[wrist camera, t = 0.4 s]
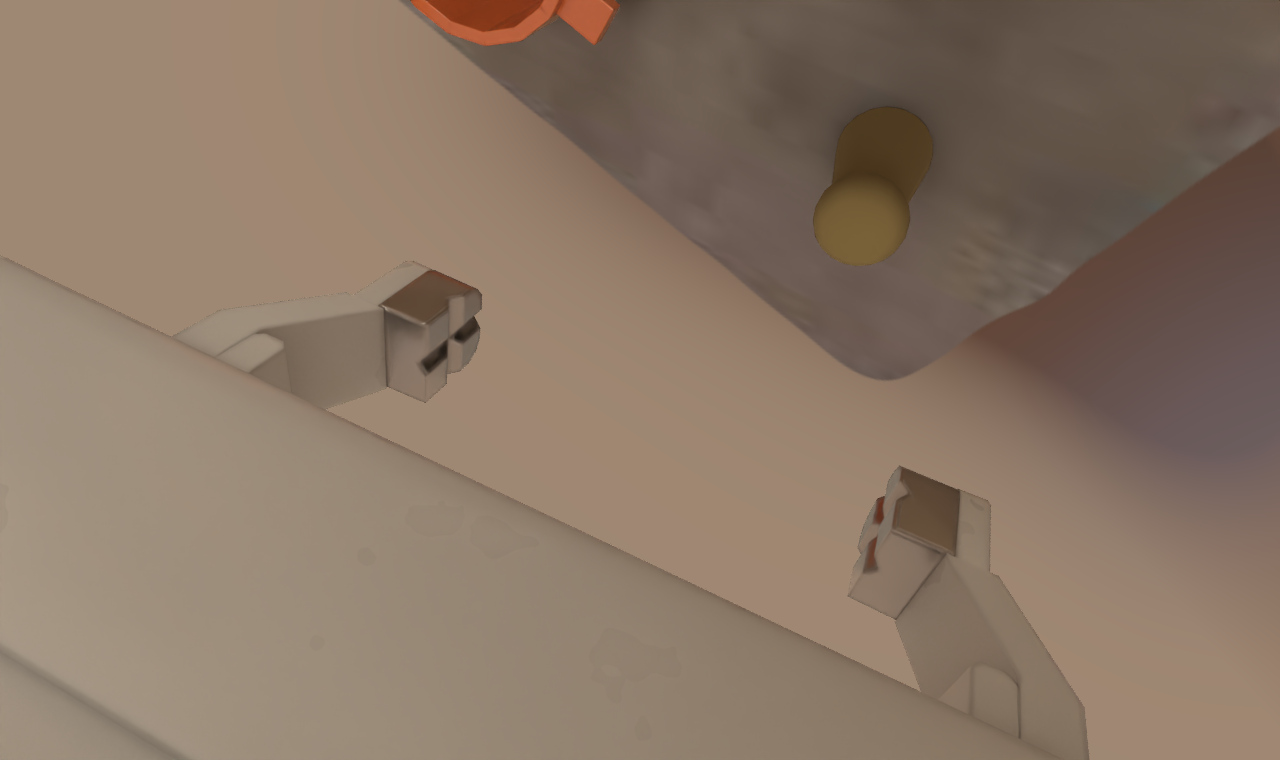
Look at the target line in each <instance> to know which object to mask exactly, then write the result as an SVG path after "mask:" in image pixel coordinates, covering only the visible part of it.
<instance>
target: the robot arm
mask: <svg viewBox="0 0 1280 760" xmlns="http://www.w3.org/2000/svg"><path fill="white" fill-rule="evenodd" d="M481 309H482V294H481V293H480V292H479V290H478V289H476V288H474V287H471V286H469V285H467V284H465V283H462V282H460V281H458V280H456V279H453V278H451V277H449V276H447V275H444V274H442V273H440V272H437V271H435V270H432V269H430V268H428V267H426V266H423V265H421V264H419V263H416V262H414V261H405V262H404V263H402V264H401V265H399V266H397V267H396V268H394V269H393V270H391V271H390V272H388V273H387V274H385V275H384V276H382V277H381V278H379V279H377V280H376V281H374V282H373V283H371V284H370V285H368V286H367V287H365V288H364V289H362V290H360V291H359V292H357V293H356V294H354V295H351V294H349V293H347V292H345V293H338V294H331V295H324V296H317V297H309V298H303V299H295V300H288V301H280V302H274V303H266V304H259V305H252V306H245V307H238V308H230V309H223V310H218V311H217V312H215V313H213V314H211V315H209V316H208V317H206V318H204V319H202V320H201V321H199V322H197V323H195V324H193V325H192V326H190V327H188V328H186V329H184V330H183V331H181V332H179V333H177V334H176V335H174V336H172V337H171V336H168V335H166V334H164V333H162V332H160V331H158V330H156V329H154V328H152V327H150V326H148V325H145V324H143V323H141V322H139V321H137V320H135V319H133V318H131V317H129V316H126V315H124V314H122V313H120V312H118V311H116V310H114V309H112V308H110V307H108V306H105V305H103V304H101V303H99V302H97V301H95V300H93V299H90V298H89V297H86V296H84V295H82V294H80V293H78V292H76V291H74V290H72V289H70V288H68V287H65V286H63V285H61V284H59V283H57V282H55V281H53V280H50V279H48V278H46V277H44V276H42V275H40V274H38V273H36V272H34V271H32V270H30V269H28V268H26V267H24V266H22V265H20V264H18V263H16V262H14V261H12V260H10V259H7V258H5V257H3V256H0V760H1089V751H1088V741H1087V730H1086V719H1085V710H1084V706H1083V704H1082V703H1081V702H1080V700H1079V698H1078V697H1077V695H1076V694H1075V692H1074V691H1073V689H1072V688H1071V686H1070V685H1069V683H1068V682H1067V680H1066V679H1065V677H1064V675H1063V674H1062V673H1061V671H1060V669H1059V668H1058V666H1057V665H1056V663H1055V662H1054V660H1053V659H1052V657H1051V655H1050V654H1049V653H1048V651H1047V649H1046V648H1045V646H1044V645H1043V643H1042V642H1041V640H1040V639H1039V637H1038V636H1037V634H1036V633H1035V631H1034V629H1033V628H1032V627H1031V625H1030V623H1029V622H1028V620H1027V619H1026V617H1025V616H1024V615H1023V613H1022V611H1021V610H1020V608H1019V607H1018V605H1017V603H1016V602H1015V600H1014V599H1013V597H1012V596H1011V594H1010V593H1009V591H1008V590H1007V588H1006V587H1005V585H1004V584H1003V582H1002V581H1001V579H1000V577H999V576H997V575H995V574H993V573H990V520H991V517H990V516H991V514H990V513H991V509H990V507H991V505H990V503H989V502H988V500H985V499H983V498H980V497H978V496H975V495H972V494H970V493H967V492H965V491H962V490H960V489H954V488H952V487H950V486H947V485H945V484H943V483H940V482H938V481H935V480H933V479H930V478H928V477H926V476H923V475H921V474H918V473H916V472H913V471H911V470H909V469H906V468H904V467H901V466H899V467H898V468H897V469H896V470H895V471H894V473H893V474H892V476H891V477H890V479H889V481H888V484H887V489H886V494H885V496H883V497H881V498H878V499H877V500H876V502H875V504H874V505H873V507H872V509H871V511H870V513H869V515H868V517H867V519H866V522H865V524H864V526H863V529H862V533H861V536H860V540H859V544H858V549H859V551H860V553H861V556H860V557H859V559H858V560H857V562H856V564H855V565H854V567H853V572H852V577H851V582H850V587H849V592H848V597H850V598H852V599H854V600H856V601H858V602H860V603H862V604H864V605H867V606H869V607H871V608H873V609H875V610H877V611H879V612H881V613H883V614H885V615H887V616H889V617H891V618H893V619H895V620H896V621H895V624H896V626H897V629H898V632H899V634H900V637H901V640H902V642H903V645H904V647H905V650H906V653H907V656H908V658H909V661H910V664H911V666H912V669H913V671H914V674H915V677H916V680H917V682H918V685H919V687H920V690H921V692H920V691H918V690H916V689H914V688H911V687H909V686H907V685H905V684H903V683H901V682H899V681H897V680H895V679H892V678H890V677H888V676H886V675H884V674H882V673H880V672H878V671H876V670H873V669H871V668H869V667H867V666H865V665H863V664H861V663H859V662H857V661H855V660H852V659H850V658H848V657H846V656H844V655H842V654H840V653H838V652H835V651H833V650H831V649H829V648H827V647H825V646H823V645H821V644H818V643H816V642H814V641H812V640H810V639H808V638H806V637H803V636H801V635H799V634H797V633H795V632H793V631H791V630H788V629H786V628H784V627H782V626H780V625H778V624H776V623H774V622H771V621H769V620H767V619H765V618H763V617H761V616H759V615H757V614H755V613H753V612H751V611H749V610H746V609H744V608H742V607H740V606H738V605H736V604H734V603H732V602H730V601H728V600H725V599H723V598H721V597H719V596H717V595H715V594H713V593H711V592H709V591H707V590H704V589H702V588H700V587H698V586H696V585H694V584H692V583H690V582H688V581H685V580H683V579H681V578H679V577H677V576H675V575H672V574H671V573H668V572H666V571H664V570H662V569H660V568H658V567H656V566H654V565H652V564H650V563H648V562H646V561H643V560H641V559H639V558H637V557H635V556H633V555H631V554H629V553H626V552H624V551H622V550H620V549H618V548H616V547H614V546H612V545H610V544H608V543H605V542H603V541H601V540H599V539H597V538H595V537H593V536H591V535H589V534H586V533H584V532H582V531H580V530H578V529H576V528H573V527H572V526H570V525H567V524H565V523H563V522H561V521H559V520H557V519H555V518H552V517H550V516H548V515H546V514H544V513H542V512H540V511H538V510H536V509H533V508H531V507H529V506H527V505H525V504H523V503H521V502H519V501H516V500H514V499H512V498H510V497H508V496H506V495H504V494H502V493H500V492H497V491H495V490H493V489H491V488H489V487H487V486H485V485H483V484H481V483H478V482H476V481H474V480H472V479H470V478H468V477H466V476H464V475H461V474H459V473H457V472H455V471H453V470H451V469H449V468H447V467H445V466H442V465H440V464H438V463H436V462H434V461H432V460H430V459H428V458H426V457H424V456H422V455H419V454H417V453H415V452H413V451H411V450H409V449H407V448H405V447H402V446H400V445H398V444H396V443H394V442H392V441H390V440H388V439H386V438H383V437H381V436H379V435H377V434H375V433H373V432H371V431H369V430H366V429H365V428H362V427H360V426H358V425H356V424H354V423H352V422H350V421H348V420H346V419H344V418H341V417H339V416H337V415H335V414H333V413H331V412H329V411H327V410H325V409H328V408H331V407H334V406H337V405H340V404H343V403H346V402H349V401H352V400H355V399H358V398H361V397H364V396H366V395H369V394H373V393H375V392H378V391H381V390H384V389H386V388H387V387H389V388H391V389H394V390H396V391H398V392H401V393H403V394H406V395H408V396H410V397H413V398H415V399H417V400H420V401H422V402H424V403H426V402H427V401H428V400H429V399H431V398H432V397H433V396H434V395H435V394H436V393H437V392H438V391H439V390H440V389H441V388H443V387H444V386H445V385H446V384H447V383H446V382H447V374H451V373H455V372H459V371H461V370H462V369H463V368H464V367H465V366H466V365H467V364H468V363H469V361H470V360H471V358H472V356H473V355H474V353H475V351H476V349H477V345H478V342H479V338H480V327H479V325H478V323H477V321H476V319H475V317H474V315H475V314H477V313H478V312H479V311H480V310H481Z"/></svg>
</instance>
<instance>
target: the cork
mask: <svg viewBox="0 0 1280 760" xmlns="http://www.w3.org/2000/svg"><path fill="white" fill-rule="evenodd" d="M932 156H933V144H932V138H931V136H930V134H929V131H928V129H927V127H926V126H925V125H924V124H923V123H922V122H921V121H920V119H919V118H918V117H917V116H915V115H913V114H911V113H909V112H907V111H905V110H903V109H898V108H892V107H882V108H876V109H871V110H869V111H866V112H864V113H862V114H860V115H858V116H857V117H855V118H854V119H853V120H852V121H851V122H850V123H849V124H848V125H847V126H846V127H845V129H844V131H843V132H842V134H841V136H840V138H839V140H838V145H837V150H836V157H835V165H834V172H833V180H832V185H831V186H830V187H828V188H827V189H826V190H825V191H824V193H823V194H822V196H821V198H820V199H819V201H818V203H817V205H816V207H815V212H814V218H813V225H814V231H815V237H816V239H817V241H818V243H819V244H820V246H821V248H822V249H823V250H824V251H825V252H826V253H827V254H828V255H829V256H830V257H832V258H834V259H836V260H838V261H839V262H841V263H844V264H849V265H853V266H862V265H872V264H874V263H877V262H880V261H883V260H885V259H886V258H887V257H889V256H890V255H892V254H893V253H894V252H895V251H896V250H897V249H898V247H899V246H900V245H901V243H902V242H903V240H904V239H905V237H906V234H907V230H908V227H909V223H910V212H909V205H908V203H909V202H910V200H911V198H912V197H913V195H914V193H915V191H916V190H917V188H918V186H919V185H920V183H921V181H922V179H923V178H924V176H925V174H926V173H927V171H928V169H929V166H930V163H931V160H932Z"/></svg>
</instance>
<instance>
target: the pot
mask: <svg viewBox="0 0 1280 760" xmlns="http://www.w3.org/2000/svg"><path fill="white" fill-rule="evenodd" d="M410 1H411V2H412V3H413V5H414V6H415V7H416V8H417V9H419V10H420V11H421V12H422V13H424V14H425V15H426V16H427V17H428V18H430V19H431V20H432V21H433V22H435V23H436V24H437V25H438V26H440V27H441V28H442V29H443V30H444V31H446V32H447V33H448V34H451V35H454V36H457V37H460V38H463V39H466V40H469V41H472V42H475V43H478V44H481V45H484V46H491V45H498V44H505V43H512V42H519V41H522V40H524V39H526V38H527V37H529V36H530V35H532V34H534V33H535V32H537V31H539V30H540V29H542V28H543V27H545V26H547V25H548V24H550V23H552V22H553V21H555V20H556V19H558V18H560V17H561V18H562V19H563V20H564V21H566V22H567V23H568V24H569V25H570V26H572V27H573V28H574V29H575V30H576V31H578V32H579V33H580V34H581V35H582V36H584V37H585V38H586V39H587V40H588V41H590V42H591V43H592V44H593V45H596V44H597V43H598V42H600V41H601V40H602V38H603V36H604V35H605V33H606V31H607V29H608V27H609V26H610V24H611V22H612V20H613V18H614V17H615V15H616V13H617V11H618V9H619V7H620V5H619V4H618V3H617V2H616V1H615V0H410Z"/></svg>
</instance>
